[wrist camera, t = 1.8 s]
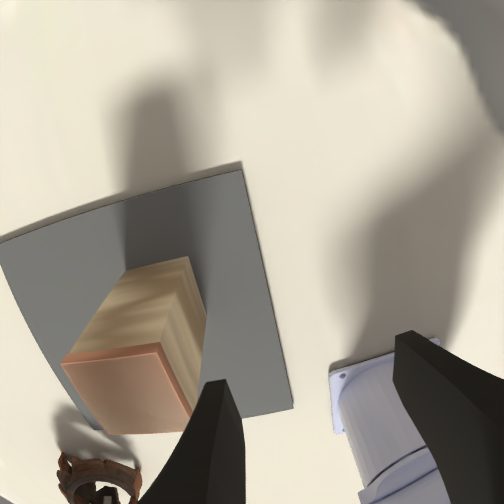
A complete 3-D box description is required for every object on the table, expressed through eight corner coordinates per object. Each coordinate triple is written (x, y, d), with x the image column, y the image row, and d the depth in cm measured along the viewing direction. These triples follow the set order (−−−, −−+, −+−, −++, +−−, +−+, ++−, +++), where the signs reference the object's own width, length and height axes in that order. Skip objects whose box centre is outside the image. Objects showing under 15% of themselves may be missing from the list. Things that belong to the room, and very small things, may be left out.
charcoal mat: (241, 169, 17) (241, 170, 17) (293, 404, 23) (293, 408, 23) (-4, 244, 17) (-7, 246, 17) (95, 426, 24) (93, 429, 23)
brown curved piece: (44, 432, 25) (39, 477, 18) (120, 418, 29) (133, 461, 22) (83, 503, 26) (91, 548, 19) (150, 490, 31) (169, 533, 23)
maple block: (188, 255, 18) (156, 352, 10) (208, 315, 20) (195, 430, 11) (124, 269, 18) (60, 363, 10) (147, 327, 20) (108, 434, 11)
